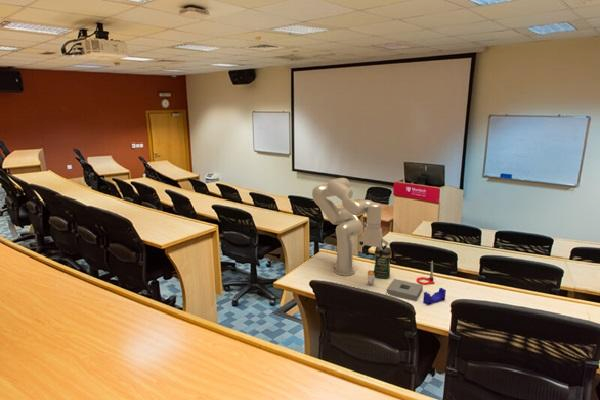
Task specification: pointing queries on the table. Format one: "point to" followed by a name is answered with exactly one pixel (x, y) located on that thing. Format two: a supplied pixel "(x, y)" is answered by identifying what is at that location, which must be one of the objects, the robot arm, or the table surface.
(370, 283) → the orange and cream cylinder
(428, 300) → the cable clip
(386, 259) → the coffee jar
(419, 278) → the tow hook
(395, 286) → the hitch plate
